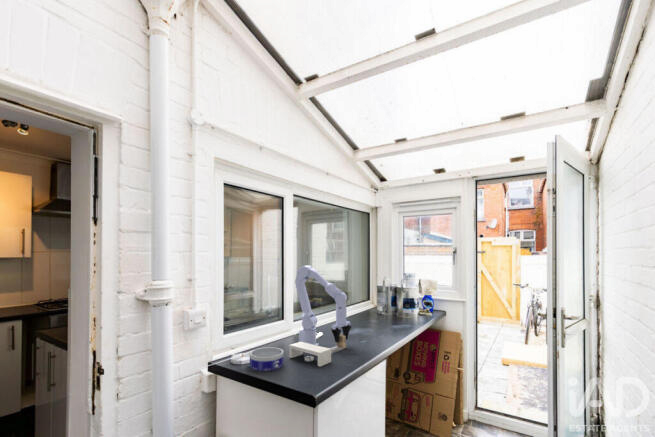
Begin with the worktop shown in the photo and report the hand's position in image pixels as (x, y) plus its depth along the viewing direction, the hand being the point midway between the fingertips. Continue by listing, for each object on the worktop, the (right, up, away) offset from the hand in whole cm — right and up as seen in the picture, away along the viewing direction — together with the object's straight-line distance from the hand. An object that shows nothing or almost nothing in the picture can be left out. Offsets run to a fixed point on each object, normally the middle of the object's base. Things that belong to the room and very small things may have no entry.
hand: (341, 340), depth 176 cm
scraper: (-6, -3, -8) cm, 10 cm away
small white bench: (-16, -2, -20) cm, 26 cm away
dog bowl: (-36, -1, -27) cm, 45 cm away
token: (-17, -2, -21) cm, 26 cm away
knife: (-15, -7, +26) cm, 31 cm away
